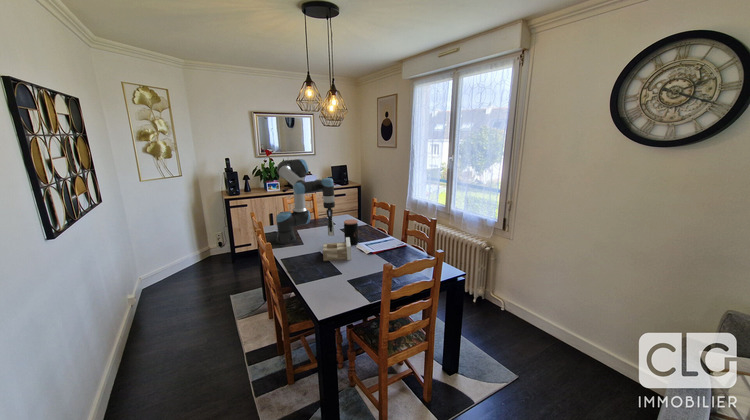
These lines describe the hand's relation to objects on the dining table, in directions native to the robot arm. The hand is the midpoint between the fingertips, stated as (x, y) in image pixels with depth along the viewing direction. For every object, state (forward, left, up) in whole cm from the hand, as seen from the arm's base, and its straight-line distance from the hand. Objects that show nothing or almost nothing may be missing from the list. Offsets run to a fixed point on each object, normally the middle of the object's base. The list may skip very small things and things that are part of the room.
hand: (331, 234), depth 200 cm
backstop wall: (0, +11, -16) cm, 20 cm away
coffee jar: (-22, +15, -16) cm, 31 cm away
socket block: (0, +2, -16) cm, 16 cm away
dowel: (0, 0, 0) cm, 0 cm away
